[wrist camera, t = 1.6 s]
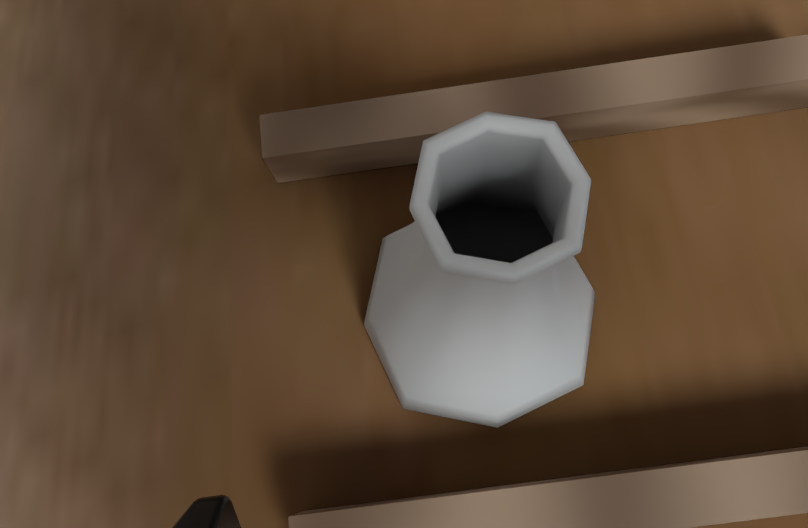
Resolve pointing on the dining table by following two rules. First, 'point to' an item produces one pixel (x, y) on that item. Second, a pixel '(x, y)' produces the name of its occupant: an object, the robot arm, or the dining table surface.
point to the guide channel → (577, 119)
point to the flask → (487, 274)
